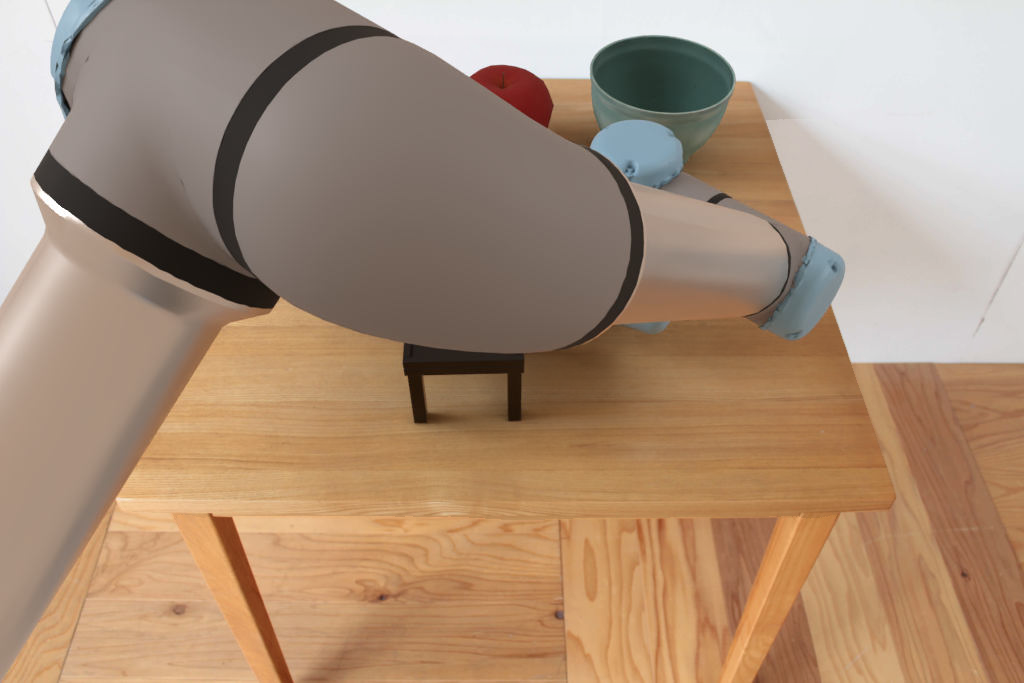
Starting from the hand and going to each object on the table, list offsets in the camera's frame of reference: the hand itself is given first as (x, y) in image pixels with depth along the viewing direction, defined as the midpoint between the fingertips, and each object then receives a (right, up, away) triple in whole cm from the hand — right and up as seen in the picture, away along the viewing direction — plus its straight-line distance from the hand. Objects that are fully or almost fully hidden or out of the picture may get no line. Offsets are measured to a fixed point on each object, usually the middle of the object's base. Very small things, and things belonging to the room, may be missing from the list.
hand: (330, 176), depth 89 cm
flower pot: (+36, +6, +14) cm, 39 cm away
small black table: (+15, -21, -9) cm, 27 cm away
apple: (+18, +5, +13) cm, 23 cm away
